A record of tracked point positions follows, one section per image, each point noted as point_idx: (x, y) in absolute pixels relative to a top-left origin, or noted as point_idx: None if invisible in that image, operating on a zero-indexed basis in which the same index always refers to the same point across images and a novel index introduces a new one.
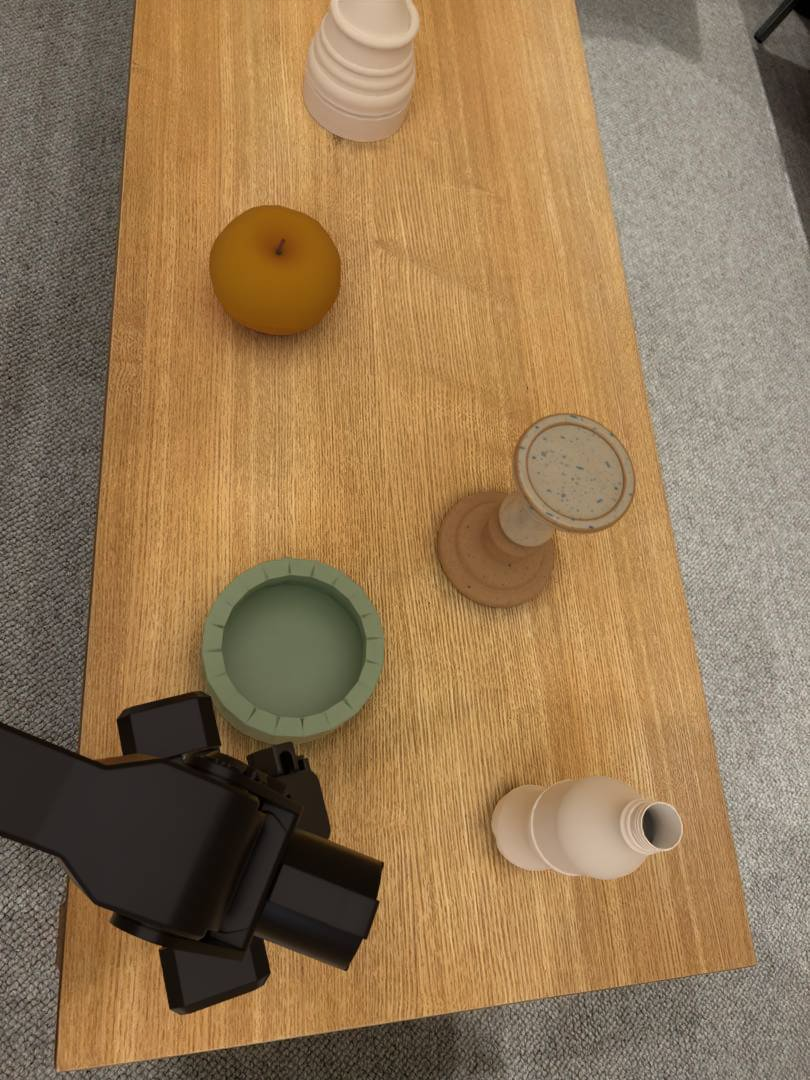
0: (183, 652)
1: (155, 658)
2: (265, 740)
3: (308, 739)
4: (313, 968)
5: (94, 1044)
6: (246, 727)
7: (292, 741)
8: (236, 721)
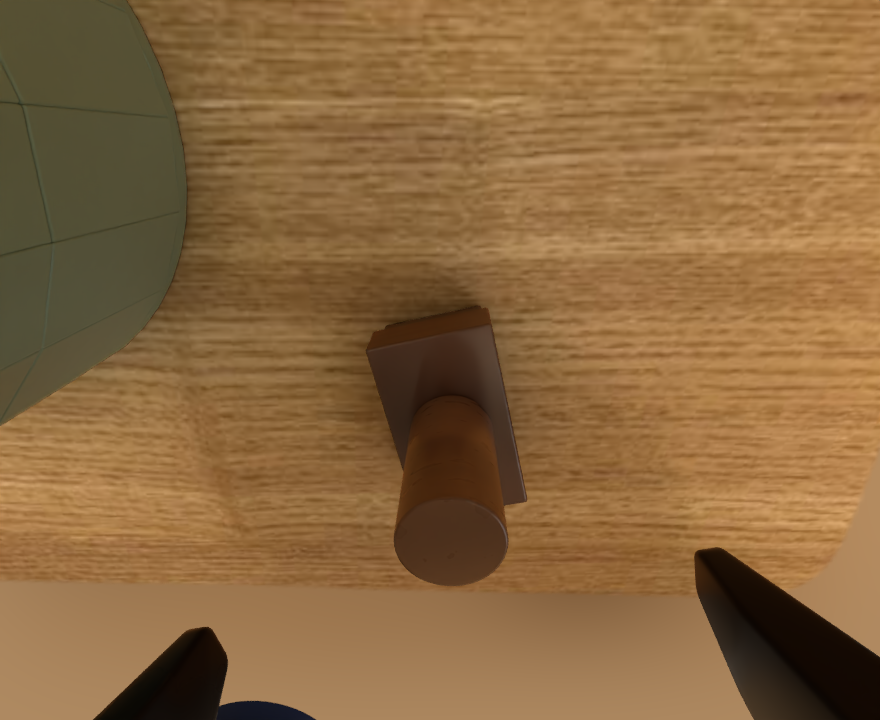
0: (2, 425)
1: (38, 480)
2: (148, 232)
3: (85, 66)
4: (859, 58)
5: (815, 558)
6: (37, 346)
7: (102, 139)
8: (53, 362)
